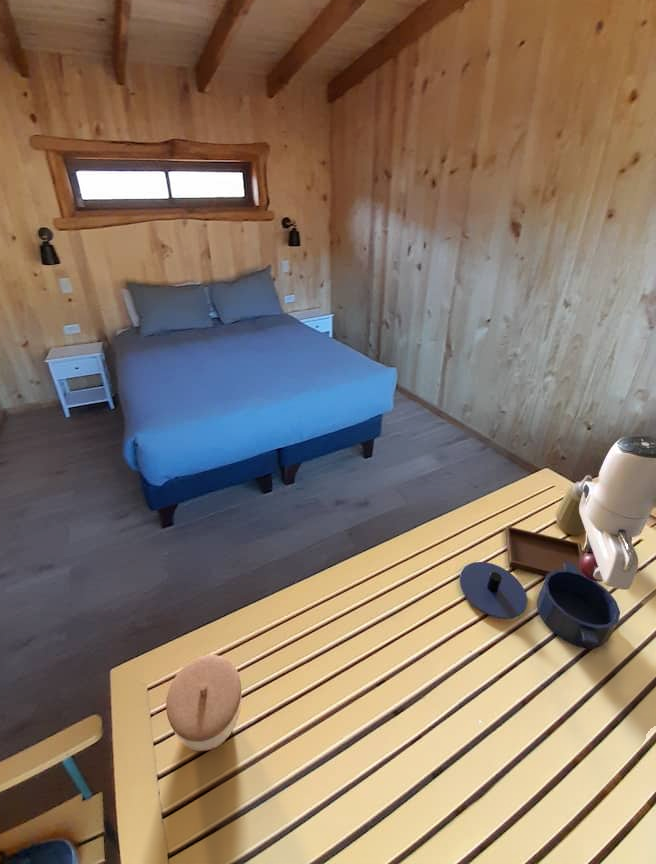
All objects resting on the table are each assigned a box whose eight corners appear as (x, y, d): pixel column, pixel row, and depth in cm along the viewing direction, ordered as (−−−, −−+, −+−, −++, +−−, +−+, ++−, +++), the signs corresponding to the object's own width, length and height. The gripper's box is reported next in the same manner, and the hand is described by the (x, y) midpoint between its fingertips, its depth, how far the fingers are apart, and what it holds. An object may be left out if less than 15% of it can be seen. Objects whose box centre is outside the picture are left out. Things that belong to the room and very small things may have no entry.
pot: (595, 590, 94) (605, 569, 91) (621, 672, 78) (634, 651, 75) (531, 573, 98) (538, 553, 95) (543, 648, 82) (552, 627, 79)
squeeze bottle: (547, 515, 115) (565, 465, 107) (577, 518, 114) (598, 467, 105) (559, 537, 108) (580, 485, 99) (592, 540, 106) (615, 488, 98)
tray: (577, 548, 104) (580, 543, 103) (589, 588, 94) (592, 582, 93) (505, 531, 110) (506, 526, 109) (509, 567, 100) (510, 561, 99)
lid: (522, 574, 98) (527, 560, 95) (530, 630, 86) (536, 615, 84) (459, 558, 102) (462, 544, 100) (458, 608, 90) (462, 593, 88)
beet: (602, 569, 84) (611, 548, 81) (610, 590, 80) (619, 568, 77) (573, 562, 86) (581, 541, 83) (579, 583, 82) (588, 561, 79)
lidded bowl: (180, 781, 65) (169, 748, 60) (169, 699, 76) (159, 666, 71) (254, 741, 70) (249, 708, 65) (234, 669, 80) (229, 636, 75)
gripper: (658, 561, 66) (629, 614, 72) (618, 482, 83) (597, 531, 89) (612, 551, 68) (588, 604, 74) (582, 476, 85) (564, 524, 91)
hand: (593, 563), depth 82 cm, fingers closed on beet, 5 cm apart
